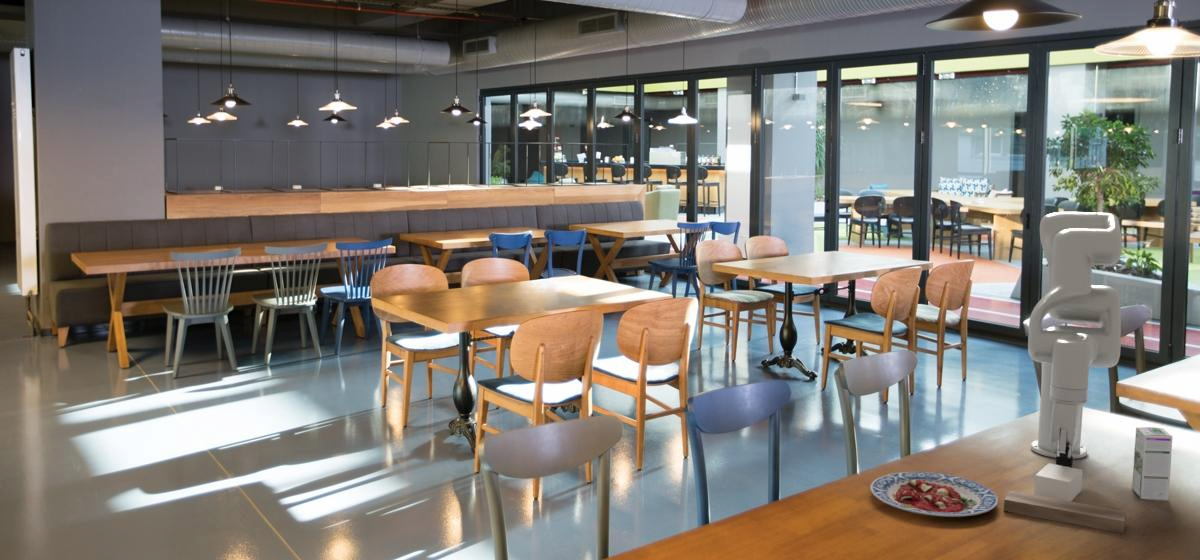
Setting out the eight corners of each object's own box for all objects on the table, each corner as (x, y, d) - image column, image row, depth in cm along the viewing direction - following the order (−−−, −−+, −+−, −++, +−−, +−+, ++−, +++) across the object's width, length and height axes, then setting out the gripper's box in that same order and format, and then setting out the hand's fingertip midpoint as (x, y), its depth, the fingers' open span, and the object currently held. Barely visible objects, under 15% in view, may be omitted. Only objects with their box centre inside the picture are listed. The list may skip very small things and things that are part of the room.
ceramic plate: (848, 503, 206) (848, 490, 205) (903, 473, 224) (903, 460, 224) (967, 536, 188) (968, 521, 188) (1015, 500, 207) (1016, 486, 206)
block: (1047, 484, 216) (1048, 463, 215) (1081, 491, 212) (1082, 469, 211) (1033, 497, 209) (1035, 475, 208) (1068, 504, 204) (1069, 482, 203)
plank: (1009, 501, 205) (1009, 490, 205) (1125, 523, 193) (1126, 511, 193) (1003, 510, 200) (1004, 499, 200) (1123, 533, 188) (1124, 521, 188)
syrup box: (1169, 501, 205) (1174, 435, 203) (1139, 499, 206) (1144, 434, 204) (1159, 491, 211) (1164, 427, 209) (1130, 489, 212) (1135, 426, 210)
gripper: (1055, 384, 222) (1050, 461, 224) (1045, 398, 209) (1040, 479, 212) (1091, 389, 218) (1086, 467, 220) (1083, 403, 205) (1077, 486, 208)
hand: (1063, 473), depth 216 cm, fingers closed
